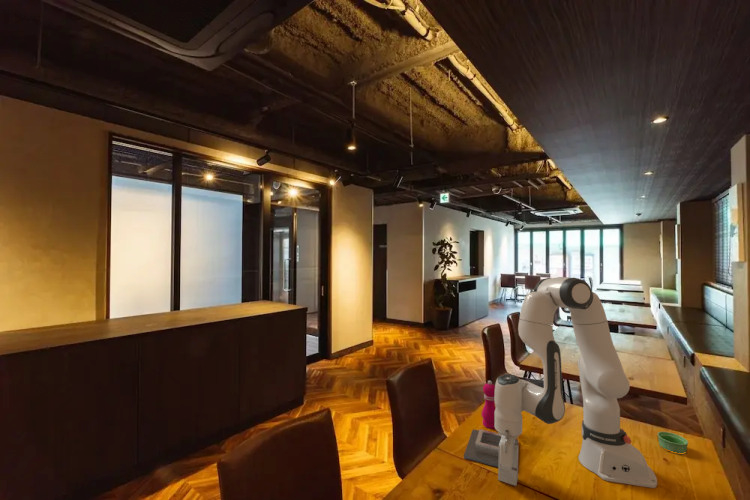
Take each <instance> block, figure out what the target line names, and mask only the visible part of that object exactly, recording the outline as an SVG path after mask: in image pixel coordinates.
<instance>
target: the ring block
mask: <svg viewBox="0 0 750 500" xmlns="http://www.w3.org/2000/svg"><path fill="white" fill-rule="evenodd" d="M500 440H501V435H500V434H499V433H497V432H493V431H490V430H489V431H488V430H484V429H481V428H480V429H474V428H473V429H472V431H471V433H470V437H469V439H468V442H467V445H466V448H465V451H464V454H463V459H465V460H468V461H473V462H476V463H480V464H482V465H486V466H492V467H495V468H498V463H499V443H500ZM515 443H516V444H518V445H519V439H518V438H516V439H515Z"/></svg>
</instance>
